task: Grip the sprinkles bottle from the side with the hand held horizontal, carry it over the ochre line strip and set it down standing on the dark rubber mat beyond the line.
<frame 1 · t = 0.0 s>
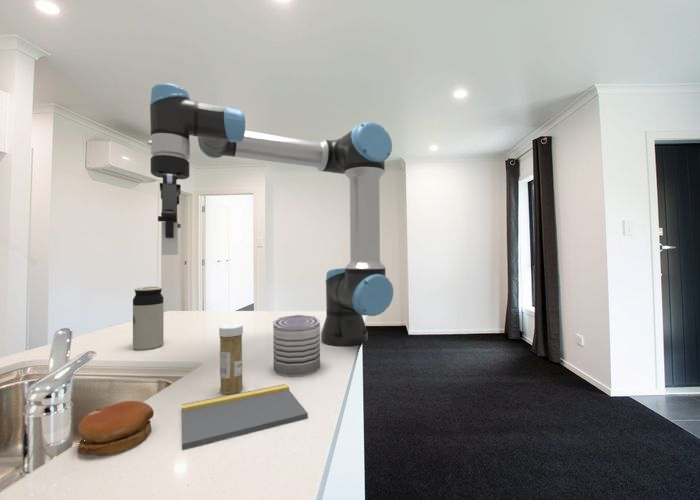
hand: (170, 255, 71), 28 cm above the worktop, tool pointing down, fingers open, 13 cm apart
sprinkles bottle: (231, 391, 67), on the worktop
travel mug: (148, 347, 99), on the worktop
burger: (115, 441, 49), on the worktop
can: (296, 369, 79), on the worktop
mat: (242, 413, 57), on the worktop
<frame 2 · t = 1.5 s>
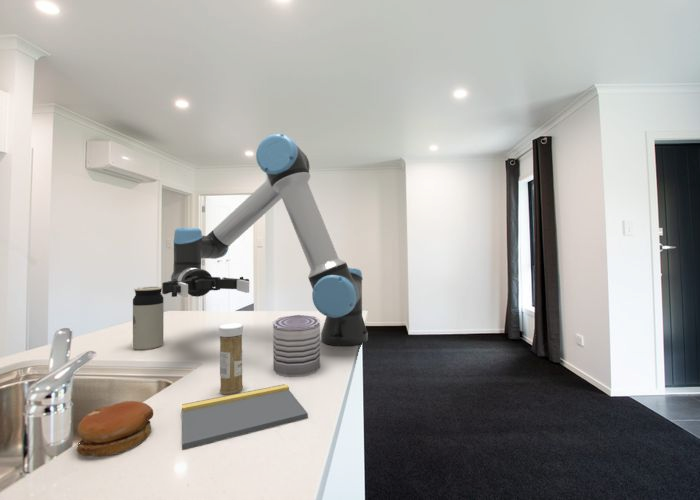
hand: (218, 288, 74), 20 cm above the worktop, tool horizontal, fingers open, 13 cm apart
nothing on the worktop moved.
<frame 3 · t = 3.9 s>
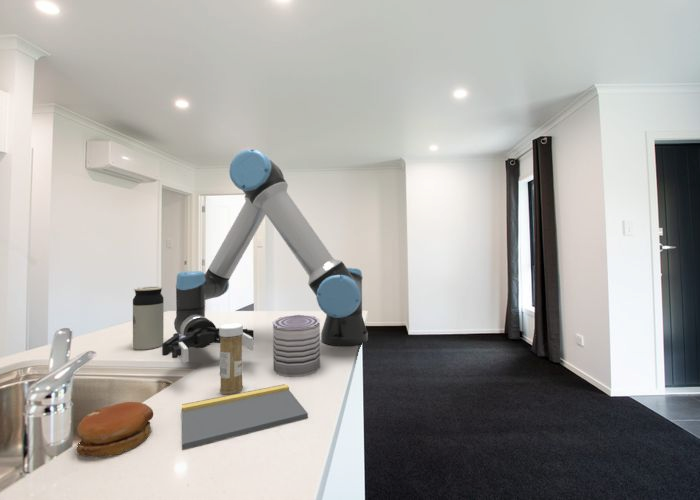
hand: (220, 349, 70), 7 cm above the worktop, tool horizontal, fingers open, 13 cm apart
nothing on the worktop moved.
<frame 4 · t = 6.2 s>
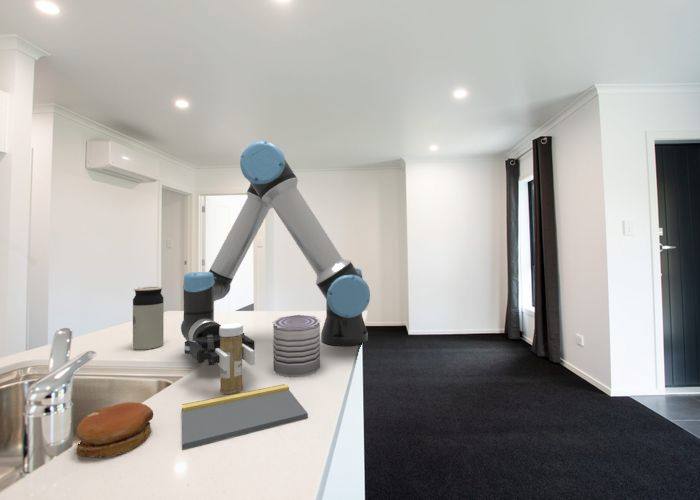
hand: (240, 360, 63), 8 cm above the worktop, tool horizontal, fingers closed on sprinkles bottle, 4 cm apart
sprinkles bottle: (231, 391, 67), on the worktop, touching gripper
everything else where it was.
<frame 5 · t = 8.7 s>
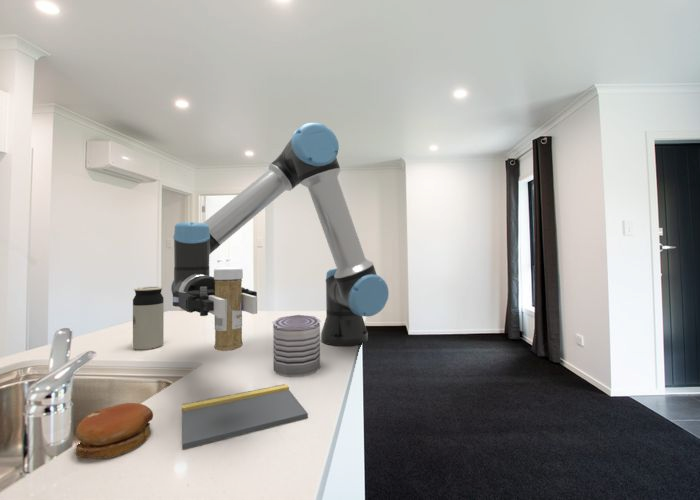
hand: (239, 306, 50), 20 cm above the worktop, tool horizontal, fingers closed on sprinkles bottle, 4 cm apart
sprinkles bottle: (228, 349, 54), point 12 cm above the worktop, touching gripper
everything else where it was.
when the fingers open (9 cm above the worktop, at t = 11.3 s): sprinkles bottle drops 1 cm, resting on mat.
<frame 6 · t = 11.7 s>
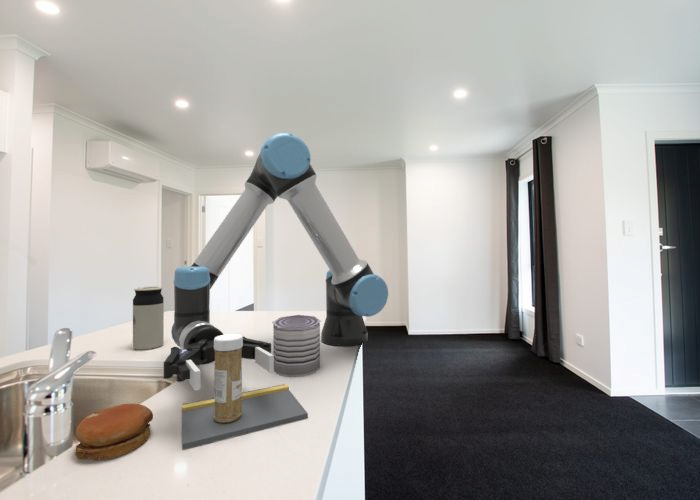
hand: (237, 371, 51), 9 cm above the worktop, tool horizontal, fingers open, 11 cm apart
sprinkles bottle: (227, 418, 54), point 1 cm above the worktop, touching mat
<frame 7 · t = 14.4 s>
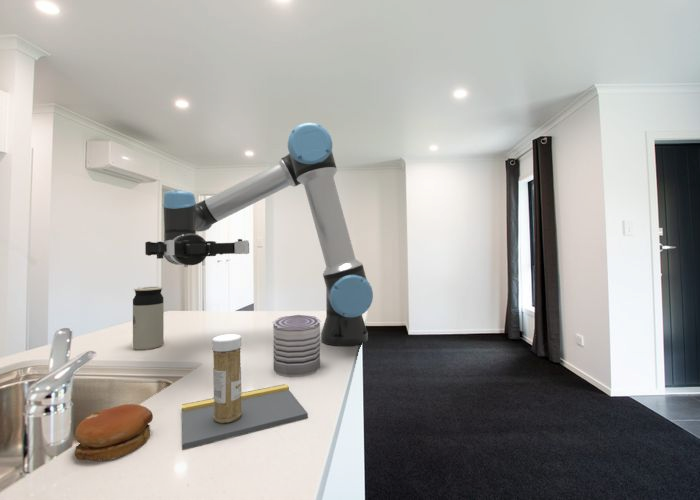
hand: (212, 247, 62), 29 cm above the worktop, tool horizontal, fingers open, 13 cm apart
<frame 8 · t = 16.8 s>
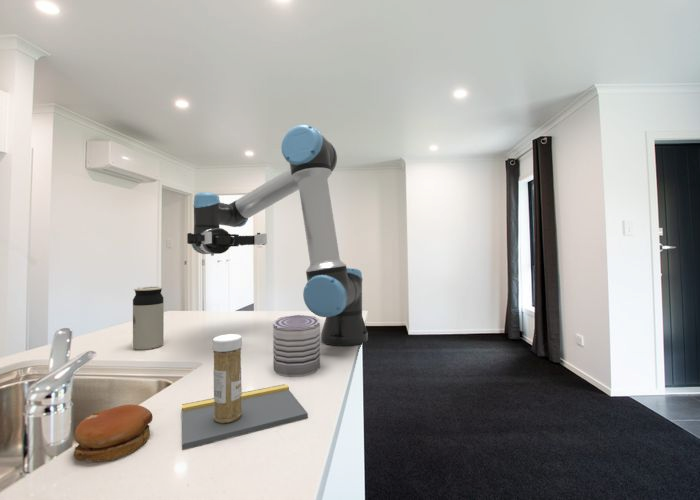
hand: (239, 238, 80), 32 cm above the worktop, tool horizontal, fingers open, 13 cm apart
at the end: sprinkles bottle inside the target area (2.8 cm from its centre), point 0.6 cm above the worktop; sprinkles bottle tilted 0°; the gripper is holding nothing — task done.
